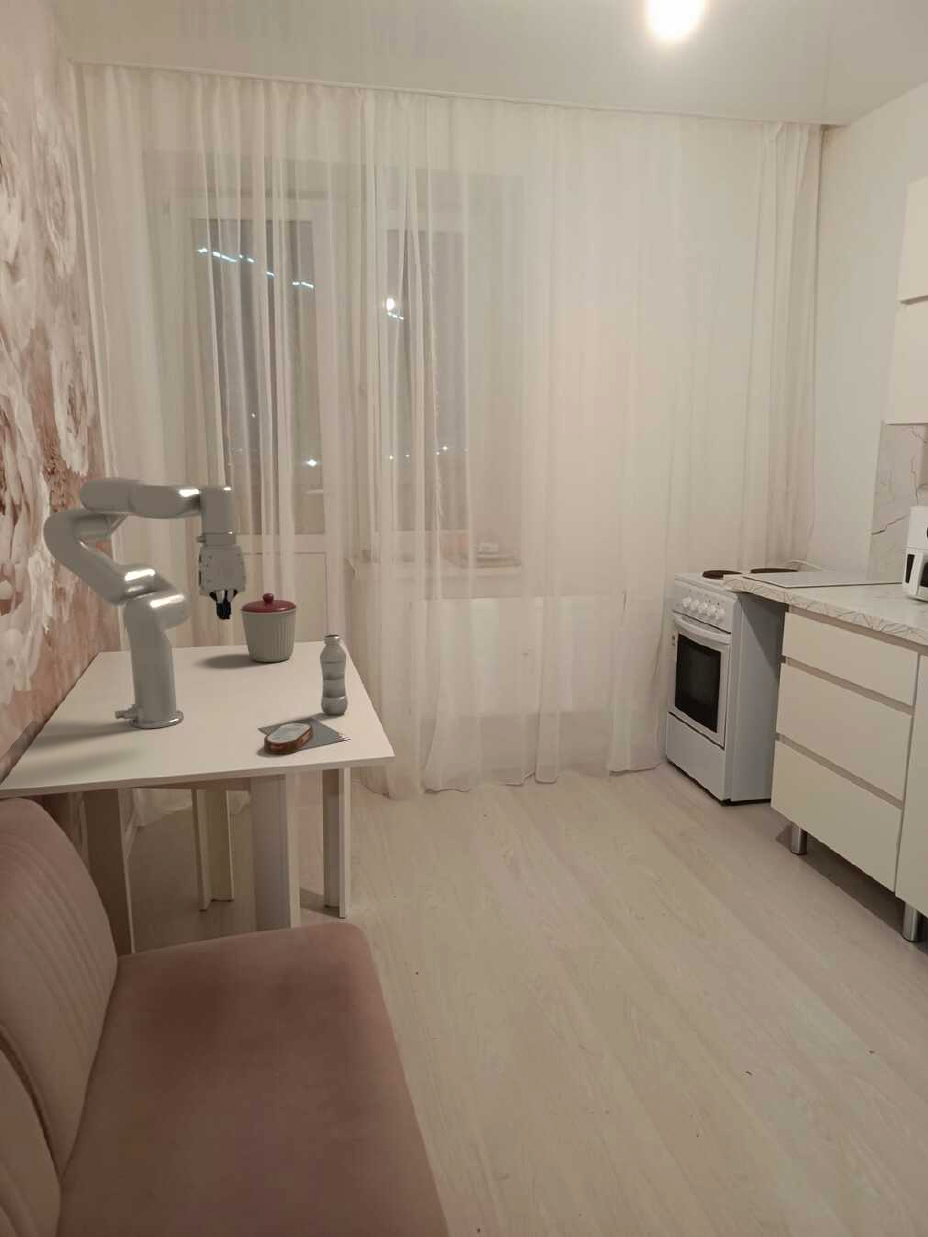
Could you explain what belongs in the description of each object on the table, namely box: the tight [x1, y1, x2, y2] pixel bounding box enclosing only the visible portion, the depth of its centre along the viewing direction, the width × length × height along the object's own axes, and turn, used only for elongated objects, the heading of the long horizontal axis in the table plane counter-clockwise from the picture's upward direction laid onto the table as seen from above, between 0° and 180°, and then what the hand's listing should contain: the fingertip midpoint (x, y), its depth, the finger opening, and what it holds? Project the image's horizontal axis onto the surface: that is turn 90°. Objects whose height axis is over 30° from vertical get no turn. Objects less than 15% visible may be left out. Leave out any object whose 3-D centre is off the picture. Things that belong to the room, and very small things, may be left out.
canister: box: [238, 592, 299, 663], centre depth 280 cm, size 18×18×21 cm
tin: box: [263, 722, 313, 755], centre depth 202 cm, size 15×3×8 cm
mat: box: [257, 717, 348, 753], centre depth 209 cm, size 14×20×1 cm
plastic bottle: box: [319, 634, 349, 715], centre depth 223 cm, size 6×7×20 cm
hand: (224, 618), depth 207 cm, fingers closed
